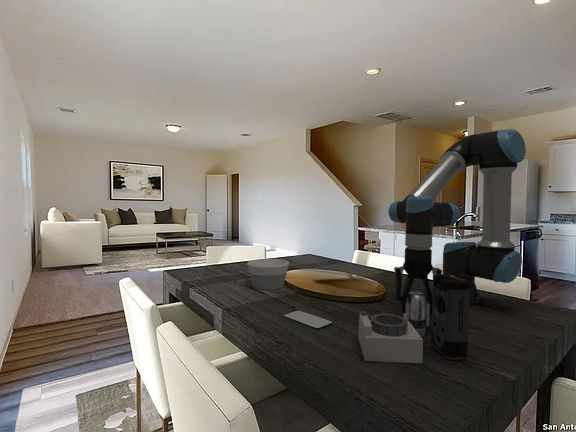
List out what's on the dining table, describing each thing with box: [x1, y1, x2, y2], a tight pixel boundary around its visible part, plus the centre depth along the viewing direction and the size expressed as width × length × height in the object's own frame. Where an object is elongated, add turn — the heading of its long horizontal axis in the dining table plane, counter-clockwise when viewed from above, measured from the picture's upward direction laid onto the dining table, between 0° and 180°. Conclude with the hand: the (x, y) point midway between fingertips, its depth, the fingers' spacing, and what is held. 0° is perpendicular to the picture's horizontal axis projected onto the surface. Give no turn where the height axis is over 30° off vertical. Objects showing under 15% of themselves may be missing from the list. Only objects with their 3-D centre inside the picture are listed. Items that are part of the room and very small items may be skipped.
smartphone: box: [283, 310, 333, 331], centre depth 111 cm, size 8×1×16 cm
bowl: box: [246, 258, 290, 291], centre depth 152 cm, size 19×19×11 cm
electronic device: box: [430, 273, 470, 361], centre depth 88 cm, size 9×6×20 cm, turn 5°
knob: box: [407, 290, 427, 337], centre depth 100 cm, size 5×5×12 cm
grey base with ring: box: [358, 310, 424, 364], centre depth 89 cm, size 14×12×9 cm
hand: (416, 323), depth 101 cm, fingers closed on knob, 5 cm apart
